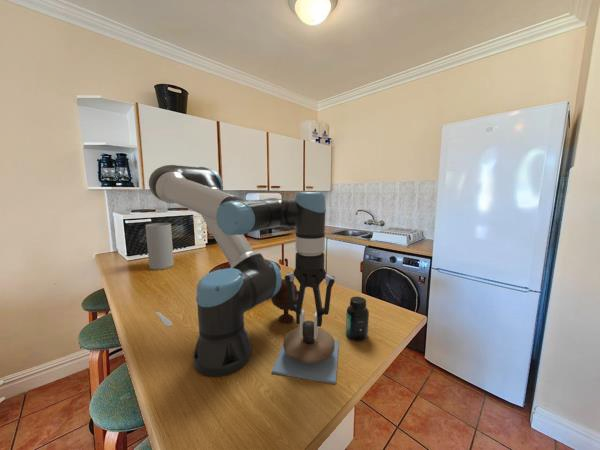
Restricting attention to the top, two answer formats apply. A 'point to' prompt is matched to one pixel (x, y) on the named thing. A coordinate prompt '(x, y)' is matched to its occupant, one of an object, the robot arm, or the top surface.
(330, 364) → the slate mat
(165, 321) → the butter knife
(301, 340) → the walnut lid
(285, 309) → the ice cream bowl
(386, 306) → the top surface
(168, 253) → the cylinder vase
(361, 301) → the supplement bottle
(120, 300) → the top surface
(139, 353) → the top surface
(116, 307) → the top surface
